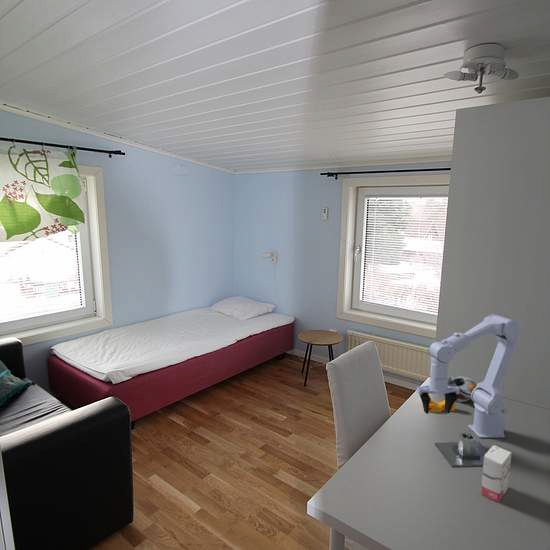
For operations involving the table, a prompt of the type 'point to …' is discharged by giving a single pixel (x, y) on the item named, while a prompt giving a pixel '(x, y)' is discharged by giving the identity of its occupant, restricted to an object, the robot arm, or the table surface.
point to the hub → (467, 443)
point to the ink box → (496, 473)
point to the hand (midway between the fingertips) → (436, 412)
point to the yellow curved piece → (438, 406)
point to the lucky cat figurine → (462, 387)
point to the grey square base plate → (462, 454)
